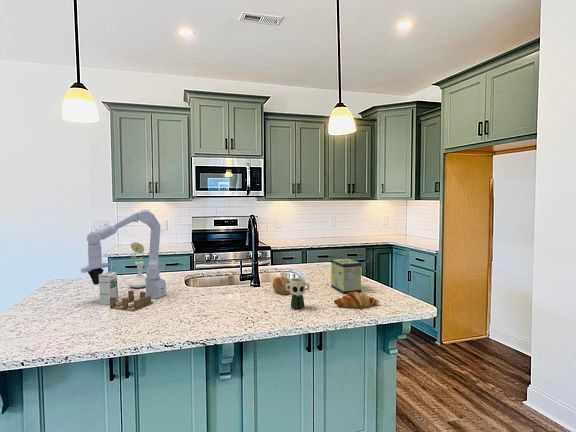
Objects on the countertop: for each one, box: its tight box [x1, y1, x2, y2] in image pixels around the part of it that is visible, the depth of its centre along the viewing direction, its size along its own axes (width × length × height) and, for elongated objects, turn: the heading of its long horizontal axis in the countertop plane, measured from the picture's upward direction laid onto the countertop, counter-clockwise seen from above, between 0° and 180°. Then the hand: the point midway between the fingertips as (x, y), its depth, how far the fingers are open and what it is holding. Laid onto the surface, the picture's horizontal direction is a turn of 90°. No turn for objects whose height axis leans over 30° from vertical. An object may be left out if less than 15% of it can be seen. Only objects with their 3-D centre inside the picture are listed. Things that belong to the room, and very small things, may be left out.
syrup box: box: [98, 271, 119, 306], centre depth 179 cm, size 6×6×14 cm
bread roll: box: [271, 276, 291, 295], centre depth 197 cm, size 10×15×8 cm, turn 19°
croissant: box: [333, 292, 380, 309], centre depth 173 cm, size 21×10×8 cm, turn 97°
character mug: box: [286, 277, 310, 310], centre depth 170 cm, size 11×7×13 cm, turn 97°
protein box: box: [330, 258, 362, 295], centre depth 201 cm, size 10×16×16 cm
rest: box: [109, 289, 154, 312], centre depth 175 cm, size 13×13×5 cm
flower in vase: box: [128, 241, 147, 289], centre depth 209 cm, size 13×11×25 cm
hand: (96, 284), depth 181 cm, fingers closed
